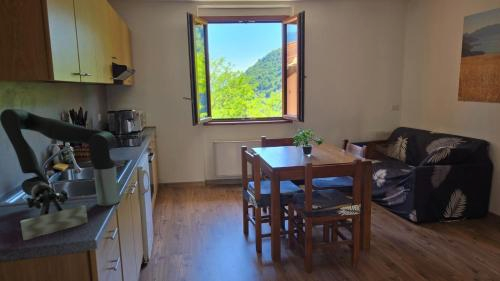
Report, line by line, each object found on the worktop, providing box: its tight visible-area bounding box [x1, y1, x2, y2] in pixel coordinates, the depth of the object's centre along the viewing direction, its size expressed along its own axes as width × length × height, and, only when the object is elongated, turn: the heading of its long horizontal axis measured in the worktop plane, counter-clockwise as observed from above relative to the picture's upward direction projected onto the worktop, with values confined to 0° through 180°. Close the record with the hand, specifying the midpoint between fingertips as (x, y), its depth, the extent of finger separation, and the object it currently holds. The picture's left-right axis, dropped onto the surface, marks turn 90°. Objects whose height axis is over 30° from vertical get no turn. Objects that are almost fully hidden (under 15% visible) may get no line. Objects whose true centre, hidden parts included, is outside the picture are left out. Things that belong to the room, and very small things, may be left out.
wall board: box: [19, 204, 89, 241], centre depth 137 cm, size 22×14×7 cm, turn 131°
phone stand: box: [39, 189, 63, 216], centre depth 136 cm, size 9×6×12 cm, turn 130°
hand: (51, 203), depth 134 cm, fingers open, 7 cm apart
